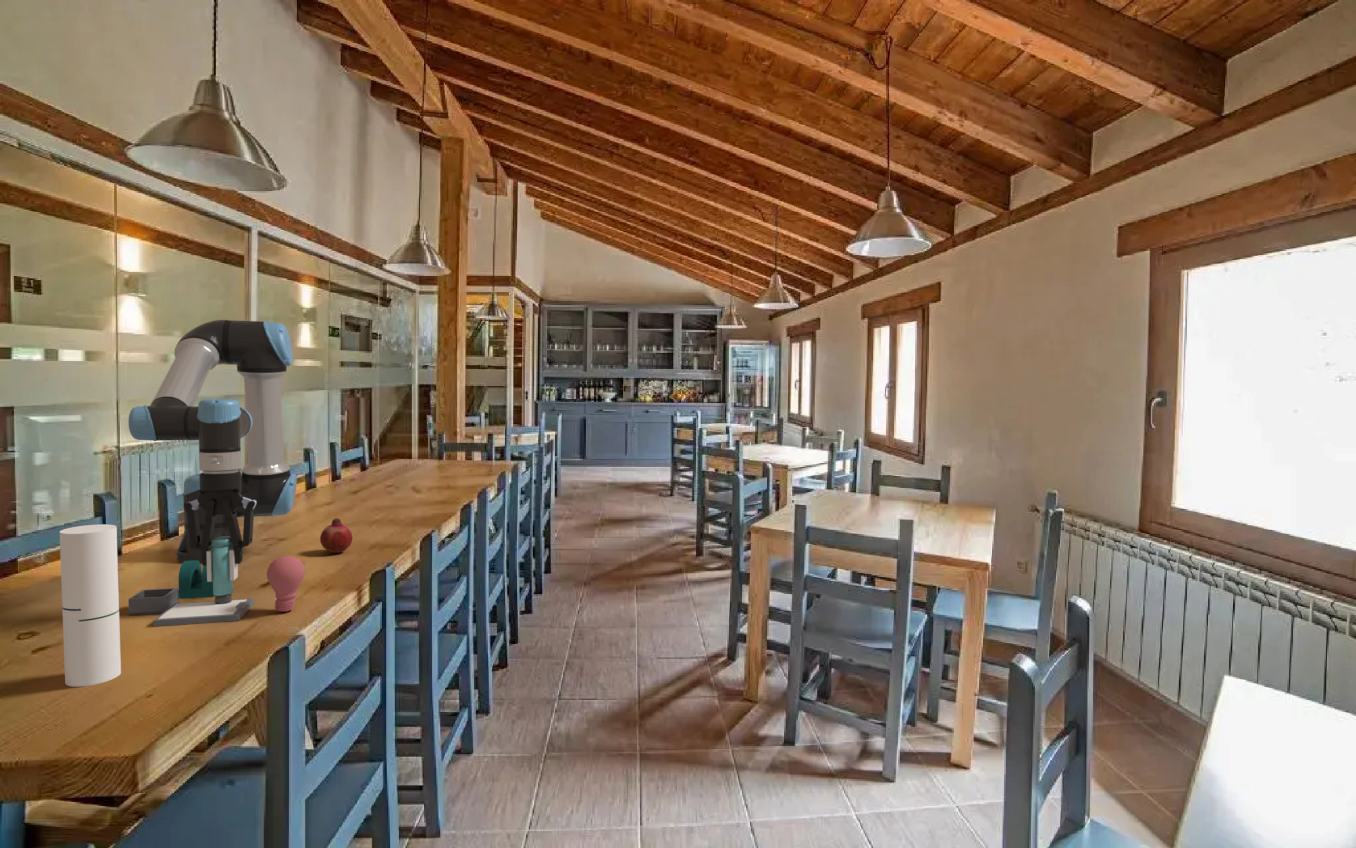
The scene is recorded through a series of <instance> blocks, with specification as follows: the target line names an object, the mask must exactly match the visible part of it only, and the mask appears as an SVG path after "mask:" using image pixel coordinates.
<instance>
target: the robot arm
mask: <svg viewBox="0 0 1356 848" xmlns="http://www.w3.org/2000/svg"><path fill="white" fill-rule="evenodd" d="M289 333H290V332H289V331H288V329H287V327H286V326H285V324H283V323H280V322H273V321H266V320H265V321H264V320H260V321H259V320H229V319H217V320H211V321H208V322H204V323H202V324H200V325H198V326H196V327H194V328H192V329H191V330H190V331H188V332H187V333H185V334H184V335H183V336H182V337H180V339H179V340H178V342H177V344H176V346H175V348H174V350H173V351H174V352H173V353H174V354H173V355H174V360H173V361H172V364H171V366H170V367H169V369H168V371H167V373H166V375H165V377H164V379H163V380H162V382H161V384H160V387H159V388H158V391H157V392H156V394H155V396H154V397H153V400H152V401H151V403H150V404H149V405H146V404H145V405H140V406H139V405H138V406H137V405H136V406H135V407H132V409H131V410H130V412H129V414H128V415H129V416H128V430H129V434H130V436H131V437H132V438H133V439H134V440H138V441H152V442H157V441H158V442H159V441H198V463H199V464H198V465H199V466H198V467H199V471H201V473H197V474H193V475H190V476H188V477H186V478H185V479H184V480H183V493H182V496H183V497H182V499H183V506H182V507H183V524H184V525H183V527H184V531H183V534H182V537H181V539H180V541H179V545H178V548H177V550H176V557H177V558H176V560H177V561H179V562H181V563H183V562H184V561H194V560H198V561H199V562H200V564H201V565H202V567H203V566H206V565H207V582H211V581H213V567H212V546H211V539H212V538H215V537H222V536H230V537H231V540H232V549H231V550H230V551H229V560H230V581H231V580H233V581H235V580H236V579H237V578H238V577H239V572H238V569H239V568H238V565H240V564H241V563H243V557H244V555H243V554H244V548H245V547H248V546H250V545H251V544H252V543H253V537H254V536H253V535H254V534H253V533H254V517H274V516H276V517H277V516H285V515H288V514H289V513H290V512H291V511H292V509H293V505H294V502H295V498H296V491H297V483H298V482H297V481H298V480H297V474H296V473H291V467H290V466H289V465H288V464H287V463H286V462H285V460H284V440H283V439H284V436H283V433H284V432H283V416H282V415H283V411H282V409H283V407H282V382H281V378H282V377H283V376H284V375H285V374H286V373H287V372H288V371H287V367H290V366H292V365H293V363H294V358H293V353H294V351H293V347H292V341H291V337H290V334H289ZM221 364H222V365H223V364H224V365H225V364H226V365H236V372H237V373H238V374H239V375H241V376H242V377H243V382H244V385H243V386H244V403H245V404H244V405H245V407H244V408H243V407H241V405H240V402H239V400H237V399H233V398H232V399H231V398H209V399H208V398H206V399H205V398H204V399H202V400H200V401H199V402H198V406H194V405H195V402H196V401H197V398H198V397H199V394H200V392H201V389H202V387H203V385H204V383H205V381H206V379H207V377H208V375H209V372H210V371H212V370H213V369H215V368H216V367H217V366H218V365H221ZM245 436H246V449H247V452H246V453H247V464H246V465H245V466H244V467H243V468H242V451H241V439H242V438H244V437H245ZM241 468H242V469H241ZM240 469H241V471H240ZM238 518H243V532H241V530H240V529H241V528H240V525H239V521H238ZM241 533H242V534H241Z"/></svg>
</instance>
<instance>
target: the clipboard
mask: <svg viewBox="0 0 1356 848" xmlns="http://www.w3.org/2000/svg"><path fill="white" fill-rule="evenodd" d="M254 605H255V598H239V599H232V601H231V602H230V603H227V604H215V600H209V601H205V600H204V601H194V602H193V601H191V602H178V603H175V604H174V605H172V606H171V607H170V608H168V609H167V610H166V611H165V612H163V613H162V614H159V615H158V616H157V617H155V619H154V620H152V626H153V627H165V626H180V625H194V624H195V625H196V624H209V623H210V624H211V623H221V622H223V623H224V622H225V623H226V622H237V621H240V620H241V619H242V618H243V617H244V616H245V615H246V614H247V612H248V611H249V610H250V609H251V608H252V607H253V606H254Z"/></svg>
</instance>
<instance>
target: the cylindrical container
mask: <svg viewBox="0 0 1356 848" xmlns="http://www.w3.org/2000/svg"><path fill="white" fill-rule="evenodd" d="M117 530H118V529H117V525H114V524H106V523H105V524H104V523H103V524H86V525H79V526H72V527H68V528H65V529H61V530H60V531H59V551H60V552H59V553H60V579H61V580H60V581H61V605H62V608H61V609H62V633H63V634H62V635H63V655H64V656H63V658H64V659H63V660H64V662H63V663H64V684H65V686H68V687H72V688H73V687H74V688H77V687H78V688H79V687H88V686H94V685H99V684H103V683H106V682H109V681H111V680H113V679H115V678H117V677H119V676H120V675H121V674H122V665H121V664H122V663H121V660H122V659H121V658H122V657H121V635H120V634H121V633H120V632H121V629H120V602H119V601H120V599H119V598H120V597H119V595H120V594H119V567H118V566H119V564H118V562H119V561H118V535H117Z"/></svg>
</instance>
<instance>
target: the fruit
mask: <svg viewBox="0 0 1356 848" xmlns="http://www.w3.org/2000/svg"><path fill="white" fill-rule="evenodd" d="M319 539H320V541H319V542H320V544H321V546H322V548H323V549H325V550H326V551H327V552H330V553H334V554H339V553H342V552H345V551H346V550H348V548H349V547H351V545H352V542H353V534H352V531H351V529H349V527H347V526H346V525H344V524H343V523H342V521H341V519H340V518H334V519H332V522H331V524H330V525H328V526H326V527H325V528H324V529H323V530H322V532H321V534H320V537H319Z"/></svg>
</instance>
